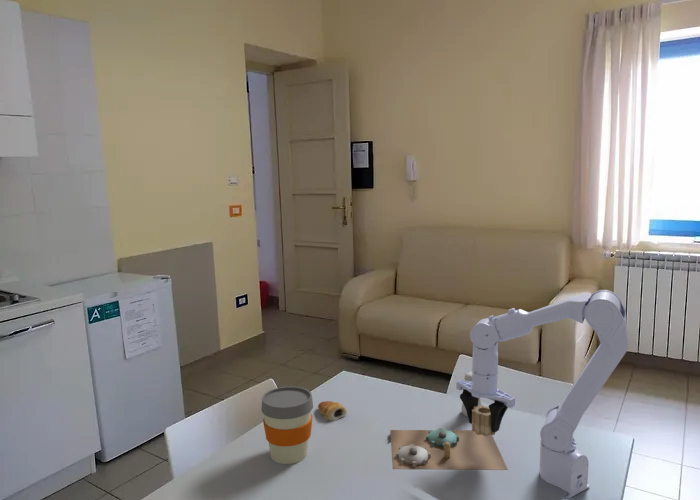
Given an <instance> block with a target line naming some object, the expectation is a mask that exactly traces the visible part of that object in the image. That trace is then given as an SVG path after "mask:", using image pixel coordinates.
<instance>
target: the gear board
mask: <svg viewBox="0 0 700 500" xmlns="http://www.w3.org/2000/svg"><path fill="white" fill-rule="evenodd" d="M389 432H390V433H389V434H390V436H389V437H390V444H391V460H392V469H393V470H461V471H462V470H464V471H465V470H471V471H472V470H476V471H477V470H478V471H479V470H480V471H481V470H483V471H484V470H485V471H486V470H487V471H488V470H490V471H491V470H492V471H494V470H495V471H500V470H501V471H508V470H509V468H508V467H507V465H506V463H505V462H506V461H504V458H503V456H502V454H501V451H500V449H499V447H498V445H497V443H496V441H495V438H494V435H488V436H484V435H477V434H476V432H475V431H472V429H469V430H468V429H461V430H460V429H459V430H457V429H456V430H455V429H450V430H449V429H448V430H447V429H443V428H442V427H440V428H438V429H390V431H389Z"/></svg>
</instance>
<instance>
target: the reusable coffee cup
mask: <svg viewBox="0 0 700 500" xmlns="http://www.w3.org/2000/svg"><path fill="white" fill-rule="evenodd" d="M313 408H314V402H313V395H312V392H311V391H310V390H309V389H307V388H305V387H300V386H290V385H289V386H281V387H276V388H273V389H270V390H268V391H267V392H266V393H264V394H263V395H262V398H261V413H262V414H263V418H262V419H263V420H262V421H263V422H262V424H263V428H264V434H265V439H266V441H267V442H268V446H269V447H268V448H269V452H270V457H271V459H272V460H273V461H274V462H275V463H278V464H283V465H292V464H296V463H298V462H301V461H303V460H304V459H306V457H307V456H308V452H309V451H308V450H309V439H310V437H311V435H312V429H313V428H312V425H313V413H312V411H313Z"/></svg>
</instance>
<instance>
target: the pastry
mask: <svg viewBox="0 0 700 500" xmlns="http://www.w3.org/2000/svg"><path fill="white" fill-rule="evenodd" d="M317 408H318V411H319V412H320V416H322V415H323V416H324V417H325V418H326V419H325V418H324V417H323V416H322V417H323V418H324V419H325V420H327V421H328V422H334V421H337V420H339V419H342V418H344V417H345V416H346V415H347V412H348V411H347V409H346V407H345V406H343V405H342V404H341V403H339V402H338V401H331V400H330V401H329V400H325V401H321V402H319V404H318V405H317Z"/></svg>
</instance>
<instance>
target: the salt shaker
mask: <svg viewBox="0 0 700 500" xmlns="http://www.w3.org/2000/svg"><path fill="white" fill-rule="evenodd" d="M463 377H464V379H463V380H465V381H470V382H472V371H468V372H466V373H465V374H464V376H463ZM461 403H462V404H461V413H462V414H463V416H465V417H466V418H468V415H467V411H466V408H465V406H464V404H463V402H461ZM480 405H483V403H482V397H480V398H479V400H478V406H480Z"/></svg>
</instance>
